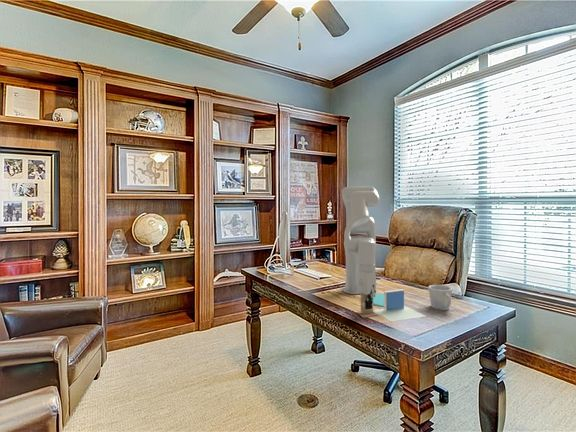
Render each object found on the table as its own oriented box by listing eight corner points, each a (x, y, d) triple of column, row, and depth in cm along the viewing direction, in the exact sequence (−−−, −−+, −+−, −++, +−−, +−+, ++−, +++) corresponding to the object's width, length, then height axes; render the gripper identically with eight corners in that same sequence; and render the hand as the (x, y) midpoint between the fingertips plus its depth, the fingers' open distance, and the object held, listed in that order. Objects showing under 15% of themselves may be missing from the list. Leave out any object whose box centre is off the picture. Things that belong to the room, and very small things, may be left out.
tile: (384, 310, 151) (383, 291, 151) (402, 307, 154) (402, 289, 154) (386, 311, 150) (385, 292, 149) (404, 309, 153) (404, 290, 152)
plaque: (406, 303, 167) (370, 294, 179) (406, 299, 166) (370, 291, 179) (393, 312, 153) (355, 302, 166) (393, 308, 153) (355, 298, 166)
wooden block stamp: (356, 314, 149) (356, 290, 148) (370, 312, 151) (370, 288, 150) (363, 318, 143) (363, 293, 142) (377, 316, 145) (377, 292, 144)
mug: (445, 304, 160) (445, 284, 159) (461, 315, 145) (462, 293, 145) (424, 304, 160) (424, 284, 159) (438, 315, 145) (438, 293, 145)
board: (372, 311, 152) (372, 310, 152) (404, 306, 157) (404, 305, 157) (390, 322, 138) (390, 321, 138) (426, 317, 143) (426, 316, 143)
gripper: (350, 264, 152) (351, 303, 153) (368, 272, 137) (368, 314, 138) (364, 263, 154) (365, 301, 155) (384, 270, 139) (384, 312, 140)
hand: (366, 307), depth 147 cm, fingers closed on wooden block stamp
